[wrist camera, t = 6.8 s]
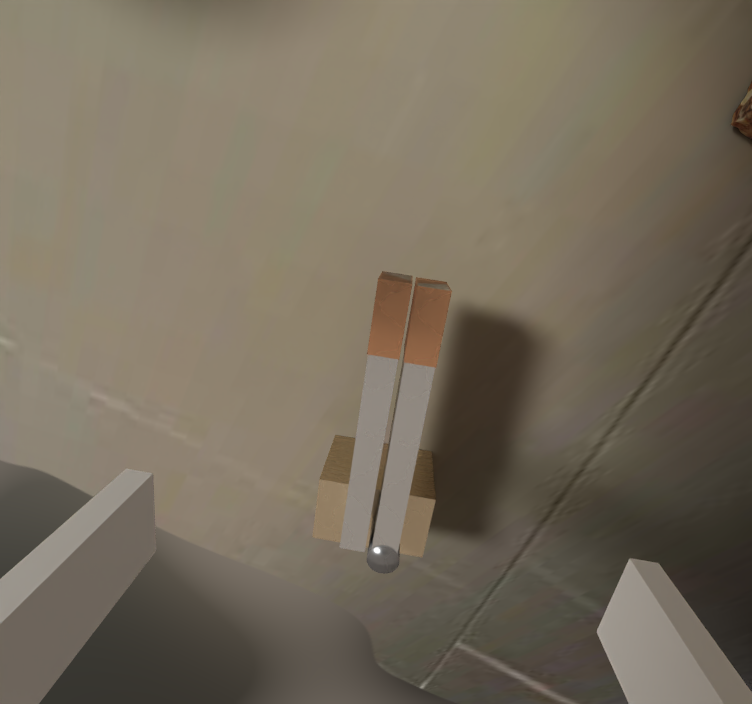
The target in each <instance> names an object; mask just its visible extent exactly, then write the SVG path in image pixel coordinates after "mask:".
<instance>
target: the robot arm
mask: <svg viewBox="0 0 752 704" xmlns="http://www.w3.org/2000/svg"><path fill="white" fill-rule="evenodd" d="M155 551H156V535H155V510H154V485H153V473H148V472H142V471H137V470H131V469H125V470H124V471H123V472H122V473H121V474H120V475H118V476H117V477H116V478H115V479H114V480H113V481H112V482H110V483H109V484H108V485H107V486H106V487H105V488H104V489H102V490H101V491H100V492H99V493H98V494H97V495H96V496H95V497H93V498H92V499H91V500H90V501H89V502H88V503H87V504H85V505H84V506H83V507H82V508H81V509H80V510H79V511H77V512H76V513H75V514H74V515H73V516H72V517H71V518H69V519H68V520H67V521H66V522H65V523H64V524H63V525H62V526H60V527H59V528H58V529H57V530H56V531H55V532H53V533H52V534H51V535H50V536H49V537H48V538H47V539H46V540H45V541H43V542H42V543H41V544H40V545H39V546H38V547H36V548H35V549H34V550H33V551H32V552H31V553H30V554H28V555H27V556H26V557H25V558H24V559H23V560H22V561H21V562H19V563H18V564H17V565H16V566H15V567H14V568H12V569H11V570H10V571H9V572H8V573H7V574H6V575H4V577H2V578H1V579H0V704H39V703H40V701H41V700H42V699H43V697H44V696H45V695H46V694H47V692H48V691H49V690H50V688H51V687H52V686H53V684H54V683H55V682H56V681H57V679H58V678H59V677H60V675H61V674H62V673H63V671H64V670H65V669H66V668H67V666H68V665H69V664H70V662H71V661H72V660H73V658H74V657H75V656H76V654H77V653H78V652H79V651H80V649H81V648H82V647H83V645H84V644H85V643H86V641H87V640H88V639H89V638H90V636H91V635H92V634H93V632H94V631H95V630H96V628H97V627H98V626H99V625H100V623H101V622H102V620H103V619H104V618H105V617H106V615H107V614H108V613H109V611H110V610H111V609H112V608H113V606H114V605H115V604H116V602H117V601H118V600H119V598H120V597H121V596H122V594H123V593H124V592H125V591H126V589H127V588H128V587H129V585H130V584H131V583H132V581H133V580H134V579H135V578H136V576H137V575H138V574H139V572H140V571H141V570H142V569H143V567H144V566H145V564H146V563H147V562H148V561H149V559H150V558H151V556H152V555H153V554H154V553H155ZM597 634H598V636H599V638H600V641H601V643H602V645H603V647H604V649H605V652H606V654H607V656H608V658H609V661H610V663H611V665H612V667H613V669H614V672H615V674H616V676H617V678H618V680H619V683H620V685H621V687H622V689H623V692H624V694H625V696H626V698H627V700H628V703H629V704H752V692H751V691H750V689H749V688H748V687H747V685H746V684H745V682H744V681H743V680H742V678H741V677H740V675H739V674H738V673H737V671H736V670H735V669H734V667H733V666H732V664H731V663H730V662H729V660H728V659H727V657H726V656H725V655H724V653H723V652H722V651H721V649H720V648H719V646H718V645H717V644H716V642H715V641H714V639H713V638H712V637H711V635H710V634H709V632H708V631H707V630H706V628H705V627H704V626H703V624H702V623H701V621H700V620H699V619H698V617H697V616H696V614H695V613H694V612H693V610H692V609H691V608H690V606H689V605H688V603H687V602H686V601H685V599H684V598H683V596H682V595H681V594H680V592H679V591H678V589H677V588H676V587H675V585H674V584H673V583H672V581H671V580H670V578H669V577H668V576H667V574H666V573H665V571H664V570H663V569H662V567H661V566H660V565H659V563H655V562H649V561H643V560H638V559H632V558H629V561H628V563H627V565H626V567H625V569H624V572H623V574H622V576H621V578H620V581H619V583H618V585H617V587H616V589H615V592H614V594H613V596H612V598H611V601H610V603H609V605H608V607H607V609H606V612H605V614H604V616H603V618H602V621H601V623H600V625H599V627H598V629H597Z"/></svg>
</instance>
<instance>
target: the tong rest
mask: <svg viewBox="0 0 752 704" xmlns="http://www.w3.org/2000/svg"><path fill="white" fill-rule="evenodd" d="M411 289H412V276H409V275H403V274H397V273H390V272H384V271H382V273H381V275H380V276H379V278H378V284H377V291H376V297H375V304H374V311H373V318H372V325H371V331H370V338H369V345H368V352H367V354H368V359H367V365H366V372H365V379H364V386H363V392H362V399H361V406H360V413H359V419H358V426H357V433H356V439H355V438H350V437H344V436H338V435H335V437H334V440H333V443H332V446H331V448H330V451H329V454H328V457H327V460H326V462H325V465H324V468H323V471H322V474H321V476H320V479H319V488H318V496H317V504H316V513H315V521H314V529H313V537H314V538H319V539H325V540H330V541H336V542H340V548H344V549H350V550H355V551H361V552H365V547H369V539H370V531H371V524H372V519H373V517H374V516H375V515H376V512H377V506H378V500H379V494H380V489H381V483H382V477H383V471H384V466H385V460H386V454H387V448H388V444H384V438H385V432H386V426H387V420H388V415H389V409H390V403H391V397H392V392H393V386H394V380H395V374H396V369H397V363H398V360H399V357H400V351H401V346H402V340H403V334H404V329H405V323H406V317H407V311H408V306H409V300H410V294H411ZM435 501H436V497H435V485H434V474H433V463H432V452H430V451H424V450H418V455H417V460H416V465H415V469H414V474H413V479H412V484H411V489H410V494H409V499H408V504H407V509H406V514H405V519H404V524H403V529H402V534H401V539H400V553H401V554H407V555H412V556H418V557H423V552H424V548H425V544H426V540H427V535H428V531H429V527H430V522H431V518H432V514H433V510H434V505H435Z"/></svg>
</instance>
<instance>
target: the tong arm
mask: <svg viewBox="0 0 752 704" xmlns="http://www.w3.org/2000/svg"><path fill="white" fill-rule="evenodd" d="M451 292H452V291H451V289H450V287H449V286H448V284H447V282H443V281H436V280H430V279H424V278H417V277H416V282H415V287H414V293H413V299H412V305H411V311H410V316H409V322H408V328H407V334H406V339H405V346H404V356H403V362H402V368H401V373H400V379H399V385H398V391H397V396H396V402H395V408H394V414H393V420H392V425H391V431H390V437H389V443H388V448H387V454H386V460H385V466H384V471H383V477H382V483H381V489H380V494H379V500H378V506H377V512H376V515H375V516H374V517H373V519H372V524H371V531H370V539H369V547H368V554H367V563H368V565H369V567H370V568H371V569H372V570H374V571H376V572H378V573H390V572H393V571H394V570H396V569H397V567H398V565H399V554H400V539H401V534H402V529H403V524H404V519H405V514H406V509H407V504H408V499H409V494H410V489H411V484H412V479H413V474H414V469H415V465H416V460H417V455H418V450H419V445H420V440H421V435H422V430H423V425H424V420H425V415H426V410H427V405H428V400H429V395H430V390H431V385H432V380H433V376H434V371H435V368H436V366H437V361H438V356H439V351H440V346H441V342H442V337H443V332H444V327H445V322H446V317H447V312H448V307H449V302H450V297H451Z"/></svg>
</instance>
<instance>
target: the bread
mask: <svg viewBox="0 0 752 704" xmlns="http://www.w3.org/2000/svg"><path fill="white" fill-rule="evenodd" d="M731 125H732V126H735V127H737V128H739V130H740V132H741V133H743V134H744V135H745V136H747V137H748V138H750V139H751V140H752V82H751V84H750V86H749V87H748V93H747V95H746V96H745V98H744V99H743V101H742V102H741V104H740V105H739V107H738V108H737V110H736V111H735V112H734V114H733V118H732V123H731Z"/></svg>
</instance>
